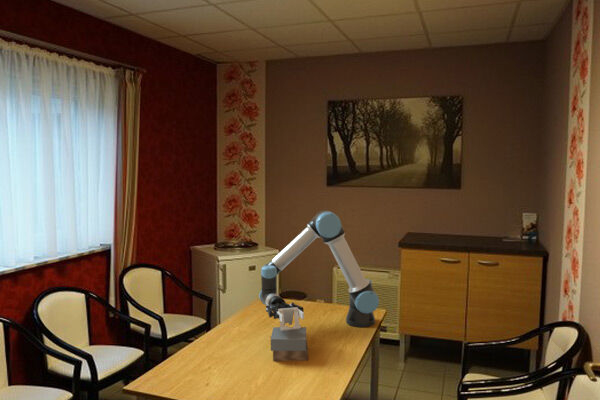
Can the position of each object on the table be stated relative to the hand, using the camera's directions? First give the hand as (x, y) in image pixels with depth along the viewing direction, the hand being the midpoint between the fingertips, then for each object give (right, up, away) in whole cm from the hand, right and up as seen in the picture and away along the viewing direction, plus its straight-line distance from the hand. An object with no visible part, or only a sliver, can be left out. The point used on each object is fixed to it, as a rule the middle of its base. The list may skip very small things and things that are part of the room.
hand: (293, 317), depth 210 cm
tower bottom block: (-1, -18, +6) cm, 19 cm away
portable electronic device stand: (-2, -6, +5) cm, 8 cm away
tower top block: (-2, -13, +5) cm, 14 cm away
